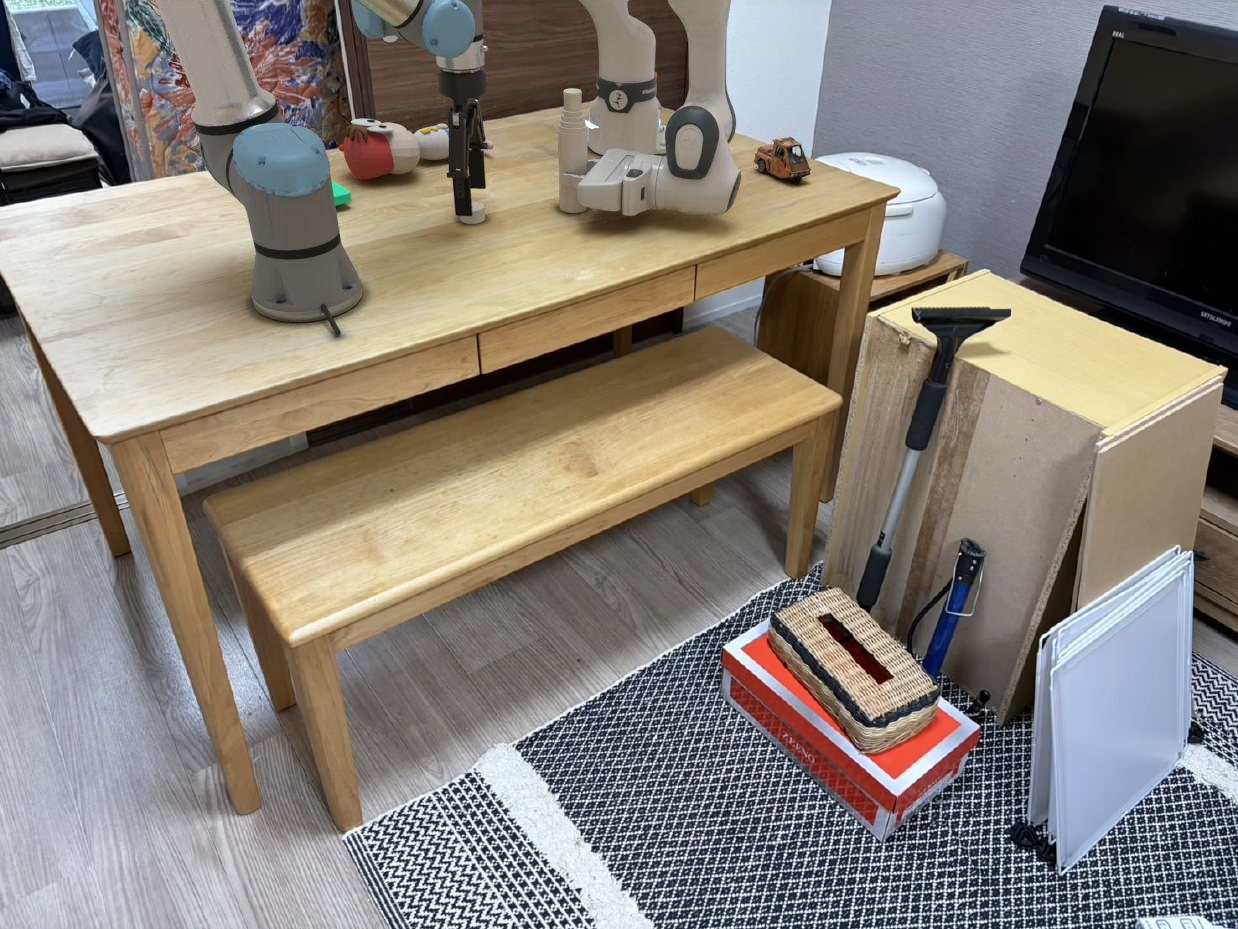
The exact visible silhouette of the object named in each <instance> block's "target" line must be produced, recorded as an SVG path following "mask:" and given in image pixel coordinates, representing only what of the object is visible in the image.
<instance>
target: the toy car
mask: <svg viewBox="0 0 1238 929" xmlns="http://www.w3.org/2000/svg"><path fill="white" fill-rule="evenodd" d="M771 141H772V143H771V144H765V145H761V146H759V147H758V148H757V151H756V152H755V153H754V159H753V163H754V164H755V165H756V166H757V168H758V171H759V173H766V174H769V175H772V176H774V177H776V178H778V179H780V180H784V181H788V180H791V179H792V182H794V183H795V184H800V183H801V182H802V180H803V178H805V177H808V176H810V175H811V171H812V168H811V167H810V164H809V162H808V160H807V159H808V158H807V157H806V154H805V152H804V151H805V150H804V149H803V147H802V144H801V143H800V142H799V141H797V140H795V138H794V137H792V136H786V137H779V138H773V139H772V140H771ZM797 147H798V148H799V149H800V155H798V154H797V149H795V150H794V148H797ZM793 151H795V152H793Z"/></svg>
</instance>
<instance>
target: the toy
mask: <svg viewBox="0 0 1238 929" xmlns="http://www.w3.org/2000/svg"><path fill="white" fill-rule="evenodd" d="M350 123H351V124H349V125H347V127H346V128H345V138H344V141H343V143H340V144H339V145H338V150H339V151H340V152H343V156H344V160H345V163H346V165H347V167H348V169H349V171H350V173H351V175H352V176H353V177H354V178H355V179H356V180H362V181H366V180H373V179H377V178H379V177H382V176H386V175H389V174H391V175H399V176H400V175H404V174H407V173H410V172H412V170H414V169H415V168H416V167H417V165H418V163H419V161H420V158H421V159H424V160H429V161H440V160H445V159H448V158H449V125H448V124H446V123H438V124H436V125H431V126H427V127H423V128H421V129H417V130H416V131H415V132H414V133H412V132H411V131H410V130H409V128H408V127H407V126H405V125H402V124H399V123H395V121H392V122H389V121H388V122H381V121H379V120H377V119H372V118H354V119H352V120H351V121H350ZM483 143H488V149H487V150H493V148H494V143H493V142H492V141H491V140H488V139H486V140H485V142H483Z"/></svg>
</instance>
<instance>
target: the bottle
mask: <svg viewBox="0 0 1238 929" xmlns="http://www.w3.org/2000/svg"><path fill="white" fill-rule="evenodd" d="M582 93H583V91H582V89H579V88H573V87H572V88H571V87H570V88H566V89H564V90H563V92H562V95H563V108H562V110H561V114H560V118H559V122H558V129H557V137H558V138H557V140H558V142H557V143H558V144H557V146H558V147H557V148H558V202H559V203H558V204H559V210H560V211H562V212H563V213H569V214H578V213H583V212H586V211H587V210H588V207H585V206H583V205H581V204H579V203H578V196H577V190H578V189H576V188H574V187H572V186H571V185H564V184H562V182H561V176H562V174H563V173H564V172H573V173H574V175H577V176H581V175H585V176H586V175H587V173H588V172H587V160H588V146H587V134H588V127H587V124H586V121H587V120H586V118H585V114H584V108H582Z"/></svg>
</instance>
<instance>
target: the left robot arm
mask: <svg viewBox="0 0 1238 929" xmlns="http://www.w3.org/2000/svg"><path fill="white" fill-rule="evenodd" d="M154 1H155V4H156V5H157V6H156V7H157V9H158V11H159V13H160V15H161V18H162V20H163V23H164V25H165V28H166V30H167V32H168V35H169V37H170V41H171V42H172V45H173V47H174V51H175V52H176V54H177V57H178V60H179V62H180V64H181V66H182V70H183V72H184V74H185V78H186V79H187V81H188V84H189V86H190V89H191V91H192V94H193V96H194V98H195V101H196V103H195V105H194V107H193V109H192V111H191V113H190V118H191V121H192V124H193V126H194V128H195V131H196V133H197V136H198V139H199V140H198V146H199V153H200V156H201V159H202V162H203V164H204V167H205V169H206V170H207V171H208V173H209V174H210V176H211V177H212V179H214V180H215V182H216V183H218V184H219V185H220V186H221V187H222V188H224V189H225V190H226V191H227V192H229V194H231V195H232V196H233V197H234V198H235V199H236V200H237V201H238V202H239V203H240V204H241V205H242V206H243V207H244V209H245V212H246V215H247V219H248V220H247V221H248V224H249V229H250V234H251V237H252V238H251V239H252V242H253V247H254V251H255V258H254V264H253V273H252V283H251V299H252V303H253V307H254V309H255V310H256V311H257V313H259V314H260V315H262V316H264V317H266V318H268V319H271V320H275V321H281V322H289V323H304V322H314V321H315V322H316V321H320V320H327V322H328V324H329V326H330V327H331V329H332V330H333V332H334V335H335V336H340V335H341V334H342V331H341V330H340V328H339V326H338V324H337V323H336V321H335V319H334V317H336V316H338V315H341V314H343V313H345V312H348V311H349V310H351V309H353V308H354V307H355V306H356V305H357V304H358V303H359V302H360V301H361V298H362V297H363V287H362V282H361V279H360V276H359V274H358V272H357V270H356V268H355V266H354V264H353V263H352V261H351V259H350V257H349V255H348V253H347V251H346V250H345V248H344V245H343V243H342V239H341V233H340V225H339V219H338V213H337V207H336V206H335V200H334V194H333V187H332V181H333V180H332V177H331V175H332V174H331V162H330V160H329V156H328V154H327V151H326V146H325V144H324V141H323V140H322V138H321V137H320V136H319V135H318V134H317V133H316V132H314V131H313V130H311V129H309V128H307V127H305V126H302V125H293V124H292V123H288V122H287V123H286V122H285V121H284V119H283V116H282V113H281V111H280V107H279V105H278V103H277V99H276V96H275V94H273V93H272V92H270V91H268V90H266V89H264V88H262V87H261V86H260V85H259V82H258V79H257V76H256V73H255V70H254V68H253V65H252V63H251V60H250V57H249V54H248V51H247V48H246V46H245V43H244V40H243V38H242V35H241V31H240V28H239V26H238V23H237V21H236V17H235V15H234V12H233V9H232V7H231V3H230V1H229V0H154ZM482 1H483V0H351V2H350V3H351V9H352V10H351V11H352V14H353V18H354V22H355V24H356V26H357V28H358V30H359V31H360V32H361V33H362V35H364V36H365V37H367V38H382V39H385V37H391V36H392V37H396V38H398V39H401V40H402V41H406V42H408V43H410V44H412V45H415V46H417V47H419V48H421V49H423V50H425V51H427V52H428V53H430V54H431V55H433V56H435V62H436V63H435V64H436V66H438V67H439V68H438V70H437V81H438V82H437V83H438V91H439V94H441V95H442V96H443V97H444V98H449V99H450V100H452V107H450V108H449V111H448V112H447V121H448V122H447V123H448V124H447V125H448V131H449V157H448V172H446V178H447V179H452V191H453V192H452V193H453V203H454V213H455V214H454V215H455V216H456V217H460V216H472V215H473V214H472V202H473V201H472V189H473V190H475V189H476V190H486V188H487V183H486V169H485V150H489V149H488V143H483V142H485V140H487V139H486V134H485V128H484V121H483V115H482V114H483V113H482V108H481V99H480V97H482V96H485V94H487V90H488V89H487V88H488V86H487V71H486V69H485V68H484V66H485V64H486V60H485V57H486V56H485V53H487V52H488V51H489V48H488V46H487V45H484V42H485V41H484V23H483V22H484V20H483V2H482Z"/></svg>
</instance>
